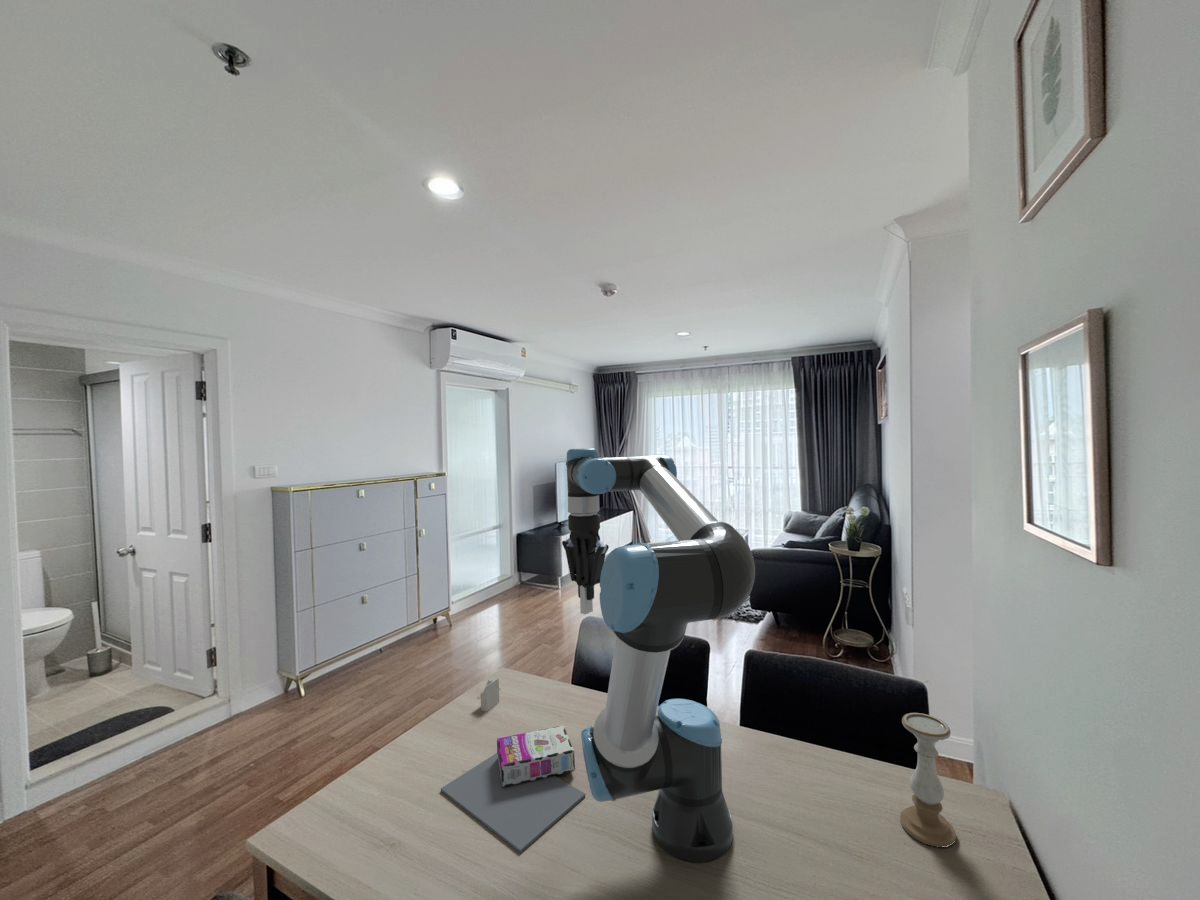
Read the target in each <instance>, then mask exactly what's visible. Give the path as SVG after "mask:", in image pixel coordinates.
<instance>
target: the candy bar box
mask: <svg viewBox="0 0 1200 900" xmlns="http://www.w3.org/2000/svg"><path fill="white" fill-rule="evenodd" d="M496 753H497V755H498V763H499V770H500V777H501V783H502V787H506V786H510V785H515V784H519V783H523V782H527V781H532V780H536V779H540V778H546V777H550V776H554V775H555V776H558V775H563V774H567V773H568V774H569V773H572V772H575V771H576V770H575V769H576V764H575V763H576V762H575V750H574V747H573V744H572V742H571V740H570V737H569V735H568V733H567V730H566V728H565V726H564V725H560V726H554V727H548V728H544V729H539V730H533V731H529V732H524V733H518V734H514V735H509V736H504V737H499V738H496Z"/></svg>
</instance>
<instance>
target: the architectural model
mask: <svg viewBox="0 0 1200 900" xmlns="http://www.w3.org/2000/svg"><path fill="white" fill-rule="evenodd" d="M499 681H500V678H499V677H497V678H496V679H494V680H490V679H489V680H488V681H487V683H486V685H485V687H484V689H483V691H482V692H480V694H479V695H478V696H477V697H476V699H478V700H480V711H482V712H486V713H487V712H488V711H489V710H490V709H493V707H495V706H497V704H499V703H500V691H501V690H502V688H500V683H499Z"/></svg>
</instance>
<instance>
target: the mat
mask: <svg viewBox="0 0 1200 900" xmlns="http://www.w3.org/2000/svg"><path fill="white" fill-rule="evenodd" d="M440 792H441V793H443V794H444V795H445V796H446V797H448V798H449V799H450V800H451V801H453V803H455V804H456V805H458V806H459V807H461V808H462V809H463V810H464V811H466V812H467V813H468V814H469V815H471V816H472V817H474V818H475V820H478V822H479V823H481V824H482V825H484V826H485V827H486V828H487V829H488V830H490V831H491V832H493V833H494V834H495V835H496V836H498V837H499V838H501V839H502V840H503V841H504V842H505V843H507V845H509V846H510V847H512V848H513V849H514V850H516V851H517V852H518V853H520V854H522V853H523V851H525V850H526V849H527V848H528V847H529V846H531V845H532V843H534V842H535V841H536V840H537V839H538V838H539V837H541V836H542V835H543V834H544V833H545V832H547V831H548V830H549V829H550V828H551V827H553V825H554V824H556V823H557V822H559V820H561V819H562V817H564V816H565V815H566V814H567V813H568V812H569V811H571V810H572V809H573V808H574V807H575V806H576V805H577V804H579V802H581V801H582V800H583V799H584V798H585V797H586V793H585V792H584V791H581V790H580V789H578V788H576V787H575V786H573V785H571V783H568V782H566V781H565V780H563V779H561V778H559V777H557V775H554V776H550V777H546V778H540V779H536V780H532V781H527V782H523V783H519V784H515V785H510V786H506V787H502V783H501V777H500V770H499V763H498V755H497V752H496V753H494V754H493V755H491V756H490V757H488V758H486V759H485V760H483V761H482V762H480V763H478V764H477V765H475V766H473V767H472V768H470V769H469V770H467V771H466V772H464V773H463V774H461V775H459V776H457V777H456V778H455V779H453V780H452V781H450V782H449V783H447V784H445V785H443V786H442V787H441V788H440Z"/></svg>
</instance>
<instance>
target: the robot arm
mask: <svg viewBox="0 0 1200 900" xmlns="http://www.w3.org/2000/svg"><path fill="white" fill-rule="evenodd" d="M565 466H566V480H567V481H566V482H567V488H566V489H567V513H569V515H568V516H567V517H568V518H567V523H568V527H567V528H568V531H570V533H569V535H568V536H569V538H567V539H565V540H562V542H561V543H562V546H563V548H564V551H565V556H566V561H567V565H568V566H567V567H568V569H569V570H568V571H569V576H570V580H571V582H575V583H576V585H577V591H578V592H577V594H578V598H579V599H580V601H579V603H580V604H579V606H580V607H579V608H580V614H583V615H588V614H589V613H593V611H594V609H593V606H594V605H593V600H594V599H595V586H596V585H598V584H599V588H600V590H599V591H600V592H599V603H600V604H599V605H600V611H601V612H600V613H601V615H602V618H603V621H604V624H605V625H606V626H607V628H608V629H609V630H611V631H612V633H613V634H614V636H615V643H614V649H613V650H614V651H613V656H612V663H611V669H610V676H609V680H608V681H609V682H608V690H607V695H606V701H605V708H604V709H602V710H601V712H600V713H598V715H597V717H596V719H595V721H594V725H593V726H591V725H590V726H588V727H587V728H584V729H582V731H581V733H580V738H581V748H582V753H583V760H584V766H585V770H586V775H587V780H588V781H587V782H588V784H589V788H590V793H591V795H592V798H593V799H594V800H595V801H597V802H600V803H604V802H609V801H610V802H615V801H616V800H620V799H625V798H628V797H633V796H637V795H642V794H645V793H650V792H653V791H658V793H657V795H656V800H655V803H654V805H653V808H652V815H651V817H652V818H651V819H652V821H651V822H652V827H651V828H652V833H653V835H654V839H656V841H657V843H658V845H659V846H660V847H661V848H662V849H663V850H664V851H666V852H667V853H668V854H670V855H672V856H673V857H675V858H678V859H681V860H683V861H687V862H690V863H691V862H693V863H706V862H711V861H714V860H715V859H719V858H720V857H722V856H723V855H724V854H726V853H727V851H728V850H729V849H730V847H731V845H732V842H733V838H734V836H733V834H734V833H733V820H732V816H731V813H730V811H729V807H728V805H727V801H726V798H725V796H724V792H723V772H722V771H723V770H722V769H723V768H722V767H723V766H722V761H723V760H722V744H723V738H722V732H721V723H720V720H719V718H718V716H717V715H716V714H715V712H714V711H713V710H712V709H710V708H709V707H707V706H706V705H704V704H702V703H700V702H698V701H694V700H691V699H686V698H670V699H665V701H663V702H662V703H661V704H659V703H660V702H659V701H660V697H661V694H662V689H663V685H664V680H665V676H666V671H667V668H668V663H669V658H670V655H671V651H673V650H674V649H676V648H677V647H679V645H680V644H681V643H682V641H683V640H684V637H685V636H686V630H687V627H688V624H690V623H695V622H696V623H697V622H703V621H710V620H718V619H722V618H724V617H727V616H729V615H732V614H733V613H734V612H737V610H739V609H740V608H741V607H742V606H743V605H744V604H745V603H746V601H747V600H748V598H749V597H750V595H751V592H752V591H753V586H754V583H755V579H756V578H755V577H756V566H755V561H754V556H753V553H752V550H751V548H750V546H749V544H748V542H747V541H746V539H745V538H744V537H743V535H741V533H739V532H738V530H737V529H735V528H734V526H732V525H731V524H730V523H727V522H725V521H719V520H718V519H717V518H716V517H715V516H714V515H713V514H712V513H711V512H710V511H709V509H707V508H706V507H705V505H704V504H702V503H701V501H699V499H697V498H696V496H695V495H693V493H692V492H690V490H689V489H688V488H687V487H686V486H685V485H684V484H683V483H682V482H681V481H680V480H679V479H678V478H677V477H678V476H677V475H678V472H677V471H678V470H677V466H676V464H675V461H674V459H673V458H672V457H671V456H669V455H658V454H652V455H642V456H641V455H639V456H637V455H635V456H616V457H615V456H609V457H606V456H605V457H599V452H598V450H597V449H596V448H593V447H592V448H590V447H589V448H569V449H568V450H567V451H566V462H565ZM625 491H626V492H628V491H629V492H630V491H640V492H641V493H642V494H643V496H644V497H645V499H647V501H648V502H649V503H650V505H651V506H652V508H654V510H655V511H656V512H657V514H658V516H659V517H660V518H661V520H662V521H663V522H664V524H666V525H665V526H667V527H668V528H669V530H670V531H671V532H672V534H673V535H674V537H675V538H676V539H677V540H676V541H675V540H674V541H665V542H655V543H654V542H653V543H646V542H636V543H632V544H631V545H630V544H629V545H622V546H618V547H616V548H614V549H612V550H611V551H610V552H609V553H608V554H607V552H608V551H609V547H610V546H609V545H608V543H607V544H604V543H603V542H602V541H601V537H600V534H599V531H600V528H601V515H600V514H599V513H598V512H599V511H600V495H601V494H605V493H607V492H608V493H610V492H612V493H613V492H625ZM606 554H607V556H606Z"/></svg>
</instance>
